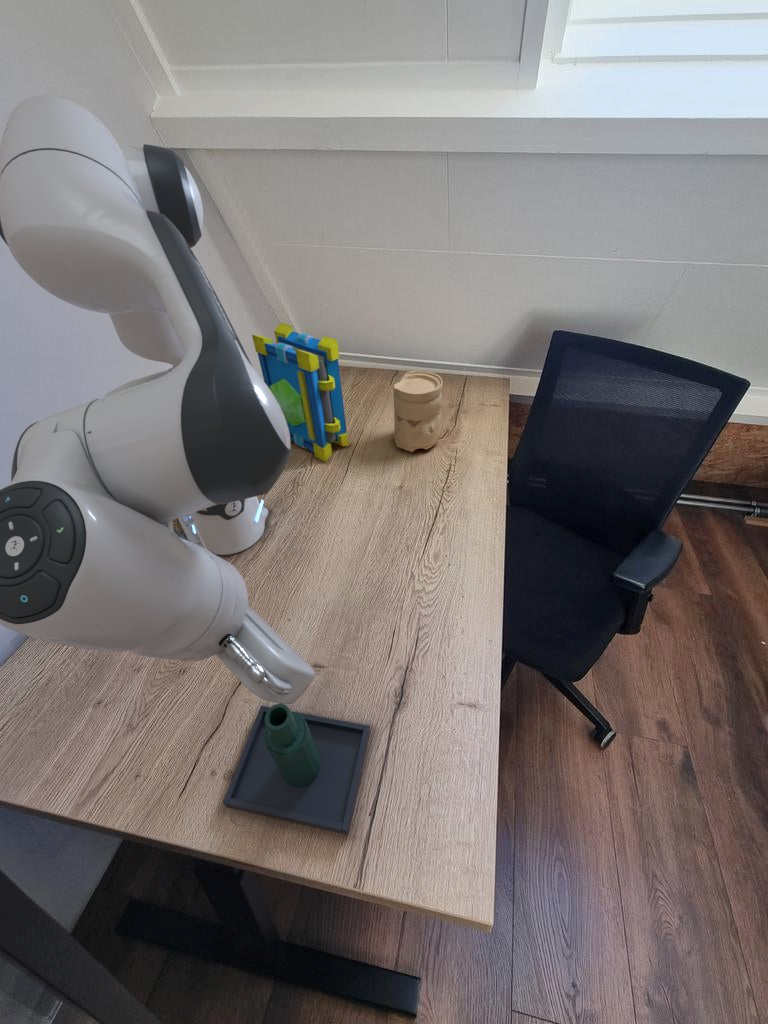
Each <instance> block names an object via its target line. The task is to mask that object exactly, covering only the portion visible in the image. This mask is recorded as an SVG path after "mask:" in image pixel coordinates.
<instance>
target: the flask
mask: <svg viewBox="0 0 768 1024" xmlns="http://www.w3.org/2000/svg"><path fill="white" fill-rule="evenodd" d="M291 711H292V710H291V709H290V707H289V706H288V705H287V704H279V703H275V704H274V705H272V706H271V708H270V709H268V711H267V713H266V715H265V724H266V726H267V727H266V729H265V734H264V742H265V746H266V748H267V750H268V751H269V753H270V755H271V757H272V758H273V760H274V762H275V763H276V765H277V767H278V768H279V770H280V772H281V774H282V775H283V777H284V778H285V780H286V781H287V782H288V783H289V784H290V785H292V786H294V787H304V786H306V785H308V784H310V783H311V782H312V781H313V780H314V779H315V778H316V777H317V775H318V773H319V770H320V757H319V754H318V751H317V749H316V746H315V744H314V741H313V739H312V736H311V733H310V731H309V728H308V726H307V723H306V721H305V719H304V718H303V717H302V716H301V715H300V714H298V713H299V712H298V713H295V712H296V711H293V712H291Z"/></svg>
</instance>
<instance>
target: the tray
mask: <svg viewBox="0 0 768 1024" xmlns="http://www.w3.org/2000/svg"><path fill="white" fill-rule="evenodd" d="M271 707H272V706H271ZM271 707H270V706H265V705H260V707H259V710H258V712H257V715H256V718H255V720H254V723H253V725H252V728H251V730H250V733H249V735H248V738H247V740H246V742H245V745H244V747H243V750H242V753H241V756H240V757H239V760H238V763H237V766H236V768H235V770H234V773H233V775H232V778H231V780H230V782H229V786H228V788H227V790H226V793H225V796H224V798H223V801H222V804H223V805H224V806H225V807H226V808H227V809H231V810H237V811H240V812H244V813H250V814H254V815H258V816H263V817H266V818H271V819H276V820H280V821H283V822H284V821H285V822H289V823H293V824H297V825H302V826H305V827H309V828H314V829H320V830H323V831H327V832H332V833H337V834H341V835H345V836H349V835H350V830H351V826H352V820H353V816H354V812H355V811H354V810H355V806H356V802H357V796H358V791H359V788H360V782H361V777H362V773H363V768H364V764H365V759H366V753H367V749H368V744H369V740H370V736H371V735H370V734H371V728H370V725H368V724H363V723H357V722H353V721H345V720H341V719H335V718H330V717H325V716H318V715H313V714H308V713H303V712H298V711H293V710H290V711H291V712H295V713H298V714H300V715H301V716H302V717H303V718H304V719H305V721H306V723H307V726H308V728H309V731H310V733H311V736H312V739H313V741H314V744H315V746H316V749H317V751H318V754H319V757H320V770H319V773H318V775H317V777H316V778H315V779H314V780H313V781H312V782H311V783H310V784H308V785H306V786H304V787H294V786H292V785H290V784H289V783H288V782H287V781H286V780H285V778H284V777H283V775H282V774H281V772H280V770H279V768H278V767H277V765H276V763H275V762H274V760H273V758H272V757H271V755H270V753H269V751H268V750H267V748H266V746H265V742H264V734H265V729H266V727H267V726H266V724H265V715H266V713H267V711H268V709H270V708H271Z"/></svg>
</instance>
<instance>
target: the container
mask: <svg viewBox="0 0 768 1024" xmlns="http://www.w3.org/2000/svg"><path fill="white" fill-rule="evenodd" d="M443 386H444V384H443V378H442V377H441V376H440V375H439V374H437V373H434V372H431V371H423V370H410V371H407V372H405V374H404V375H403V376H402V377H400V380H399V381H398V382H396V383H394V385H393V388H392V391H393V411H394V413H393V414H394V415H393V421H394V443H395V445H396V447H397V448H400V449H402V450H405V451H406V452H409V453H413V452H414V451H417V450H418V449H424V450H429V449H431V448H433V446H434V445H436V444H437V443H438V441H440V437H441V432H442V431H441V428H442V410H441V409H442V406H443V405H442V404H443V393H442V391H443Z"/></svg>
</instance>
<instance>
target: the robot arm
mask: <svg viewBox="0 0 768 1024" xmlns="http://www.w3.org/2000/svg"><path fill="white" fill-rule="evenodd" d="M201 196H202V195H201V193H200V190H199V188H198V185H197V183H196V181H195V179H194V177H193V176H192V174H191V172H190V171H189V170H188V168H187V167H186V166H185V162H184V160H183V159H182V157H180V156H179V155H178V154H177V153H176V152H175V151H174V150H173V149H169V148H167V147H163V146H159V145H153V144H146V143H144V144H143V146H142V147H139V146H131V145H122V144H121V145H120V144H118V142H117V140H116V138H115V137H114V135H113V134H112V132H111V131H110V130H109V129H108V128H107V126H106V125H105V124H104V123H103V121H101V120H100V119H99V118H98V117H97V116H96V115H95V114H94V113H92V112H91V111H90V110H89V109H87V108H86V107H83V106H82V105H80V104H78V103H76V102H74V101H73V100H70V99H67V98H64V97H61V96H57V95H50V94H43V95H42V94H41V95H40V94H39V95H35V96H30V97H28V98H25V99H23V100H22V101H20V102H19V103H18V104H17V105H16V106H15V107H14V108H13V110H12V111H11V113H10V114H9V116H8V119H7V122H6V124H5V127H4V130H3V134H2V137H1V141H0V238H1V239H2V240H3V242H4V243H5V244H6V246H7V247H8V249H9V251H10V253H11V254H12V256H13V259H15V261H16V262H17V264H18V266H19V267H20V268H21V269H22V270H23V271H24V273H26V275H27V276H29V278H30V279H32V281H34V283H36V284H37V285H38V286H40V287H41V288H42V289H43V290H45V291H46V292H48V293H49V294H50V295H52V296H54V297H56V298H58V299H60V300H61V301H63V302H65V303H68V304H70V305H72V306H75V307H77V308H80V309H84V310H87V311H91V312H95V313H101V314H108V316H109V318H110V320H111V323H112V325H113V327H114V330H115V332H116V334H117V337H118V338H119V341H120V343H121V344H122V345H123V346H124V347H125V349H126V350H128V351H129V352H130V353H132V354H134V355H136V356H138V357H140V358H143V359H145V360H148V361H153V362H159V363H166V364H168V365H169V364H170V365H172V367H170V368H168V369H165V370H162V371H159V372H156V373H152V374H148V375H145V376H142V377H139V378H135V379H132V380H129V381H127V382H125V383H123V384H121V385H119V386H117V387H116V388H113V389H112V390H111V391H109V392H107V393H104V394H105V395H104V396H103V397H101V398H95V399H93V400H89V401H87V402H84V403H81V404H77V405H76V406H73V407H69V408H68V409H65V410H62V411H59V412H57V413H54V414H51V415H48V416H47V417H44V418H43V419H40V420H38V421H36V422H34V423H31V424H30V425H28V426H27V427H26V428H25V430H24V431H23V432H22V433H21V435H20V437H19V439H18V441H17V443H16V446H15V450H14V453H13V458H12V464H11V475H10V477H11V478H10V482H9V484H7V485H6V486H4V487H2V488H0V626H2V627H5V628H7V629H9V630H11V631H13V632H15V633H18V634H20V635H23V636H26V637H29V638H33V639H35V640H39V641H43V642H47V643H52V644H55V645H60V646H64V647H71V648H75V649H76V648H77V649H82V650H88V651H95V652H103V653H122V652H131V653H133V654H135V655H138V656H142V657H146V658H153V659H161V660H168V661H169V660H170V661H179V662H185V663H189V662H190V663H191V662H193V663H194V662H200V661H203V660H207V659H209V658H211V657H213V656H216V657H217V659H218V660H220V661H221V663H223V665H225V667H226V668H227V669H228V670H229V671H230V672H231V673H232V674H233V675H234V676H235V677H236V679H237V680H238V681H239V682H240V683H241V684H242V685H243V686H244V687H245V688H246V689H247V690H249V691H250V692H251V694H254V696H255V697H258V698H260V699H262V700H264V701H267V702H270V703H274V704H284V705H287V706H289V705H293V704H295V703H296V702H297V700H299V698H301V696H302V695H303V694H304V693H305V692H306V691H307V689H308V688H309V687H310V686H311V684H312V683H313V682H314V680H315V679H316V674H315V670H314V669H313V667H312V666H311V665H310V664H309V663H308V662H307V661H306V660H305V659H304V658H303V657H302V656H301V655H300V654H299V653H298V652H297V651H296V650H295V649H294V648H293V647H292V646H291V645H290V644H288V642H287V641H286V640H285V639H284V638H283V637H282V636H281V635H280V634H279V633H278V632H276V630H274V629H273V627H271V626H270V625H269V624H268V623H267V622H266V621H265V620H264V619H263V618H262V617H261V616H260V614H258V613H257V612H256V611H255V610H254V609H253V608H252V607H251V606H250V605H249V594H248V588H247V584H246V581H245V579H244V577H243V576H242V574H241V573H240V571H239V570H238V568H236V566H234V565H233V564H232V563H230V562H228V561H226V560H225V559H223V558H222V557H220V556H229V555H233V554H238V553H240V552H244V551H245V550H247V549H249V548H250V547H252V546H254V545H255V544H256V543H257V542H258V541H259V540H260V539H261V538H262V536H263V534H264V532H265V527H266V520H267V518H268V516H269V515H270V512H269V510H268V508H267V507H265V506H264V499H261V500H260V501H259V498H258V496H259V497H260V496H263V495H267V494H268V493H269V492H270V491H271V490H272V489H273V487H274V486H275V484H276V483H277V482H278V480H279V479H280V477H281V475H282V473H283V472H284V470H285V469H286V466H287V464H288V462H289V460H290V457H291V455H292V452H293V448H292V447H293V446H292V444H291V443H292V441H291V440H290V433H289V428H288V425H287V422H286V419H285V416H284V414H283V412H282V409H281V407H280V405H279V403H278V402H277V400H276V398H275V396H274V395H273V393H272V392H271V390H270V389H269V387H268V386H267V385H266V383H265V382H264V378H263V377H262V376H260V374H259V372H258V371H256V369H255V368H254V366H253V364H252V362H251V360H250V357H249V356H248V354H247V352H246V350H245V348H244V345H243V344H242V342H241V340H240V338H239V336H238V334H237V332H236V330H235V328H234V326H233V324H232V323H231V321H230V318H229V316H228V314H227V313H226V311H225V308H224V306H223V304H222V303H221V301H220V299H219V296H218V295H217V293H216V291H215V289H214V288H213V287H214V286H212V284H211V281H210V279H209V278H208V277H207V275H206V272H205V271H204V269H203V267H202V265H201V264H200V261H199V260H198V258H197V256H196V255H195V254H194V251H193V250H192V249H193V248H194V247H195V246H196V245H197V244H198V242H199V241H200V239H201V238H202V236H203V234H202V230H203V229H202V228H203V225H204V224H203V223H204V208H203V207H204V205H203V201H202V197H201ZM176 519H178V522H179V525H180V527H181V528H182V530H183V532H184V534H185V536H184V535H183V534H182V533H181V532H179V531H178V529H176V528H175V527H173V525H174V524H173V521H174V520H176Z"/></svg>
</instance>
